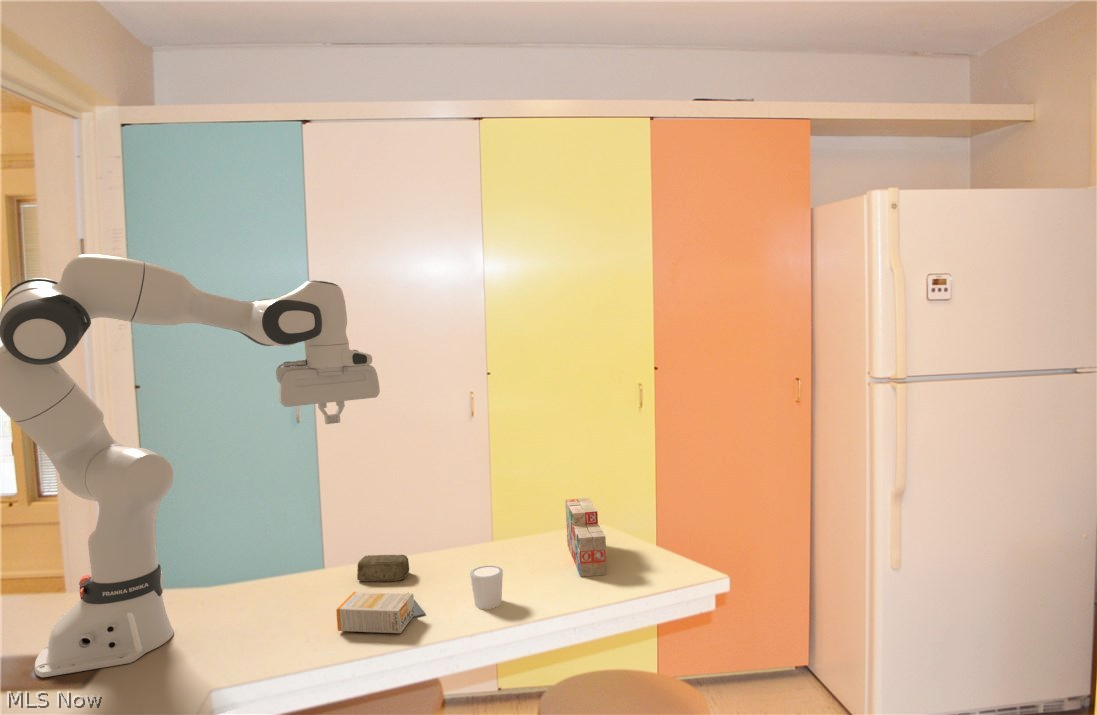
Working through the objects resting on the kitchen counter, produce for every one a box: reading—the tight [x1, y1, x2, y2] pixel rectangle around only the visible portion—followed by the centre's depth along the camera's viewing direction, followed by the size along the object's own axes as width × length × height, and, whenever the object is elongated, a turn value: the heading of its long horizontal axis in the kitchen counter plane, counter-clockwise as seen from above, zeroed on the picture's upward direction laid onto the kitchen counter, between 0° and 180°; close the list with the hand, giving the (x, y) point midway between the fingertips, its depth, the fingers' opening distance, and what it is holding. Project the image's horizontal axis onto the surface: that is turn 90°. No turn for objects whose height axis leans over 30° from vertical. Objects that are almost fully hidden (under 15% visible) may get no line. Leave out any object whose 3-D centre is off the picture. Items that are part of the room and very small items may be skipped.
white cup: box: [469, 565, 504, 610], centre depth 147 cm, size 7×7×7 cm
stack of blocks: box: [564, 497, 607, 578], centre depth 169 cm, size 21×6×12 cm, turn 7°
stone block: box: [356, 554, 410, 583], centre depth 164 cm, size 6×12×5 cm, turn 88°
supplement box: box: [336, 591, 415, 634], centre depth 139 cm, size 8×5×13 cm
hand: (332, 423), depth 148 cm, fingers closed
